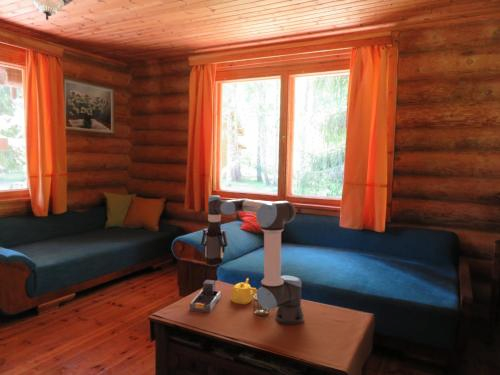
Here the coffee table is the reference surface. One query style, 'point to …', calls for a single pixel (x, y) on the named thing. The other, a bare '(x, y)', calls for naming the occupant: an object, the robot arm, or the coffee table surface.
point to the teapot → (242, 293)
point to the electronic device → (213, 249)
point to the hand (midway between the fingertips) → (214, 257)
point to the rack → (206, 298)
